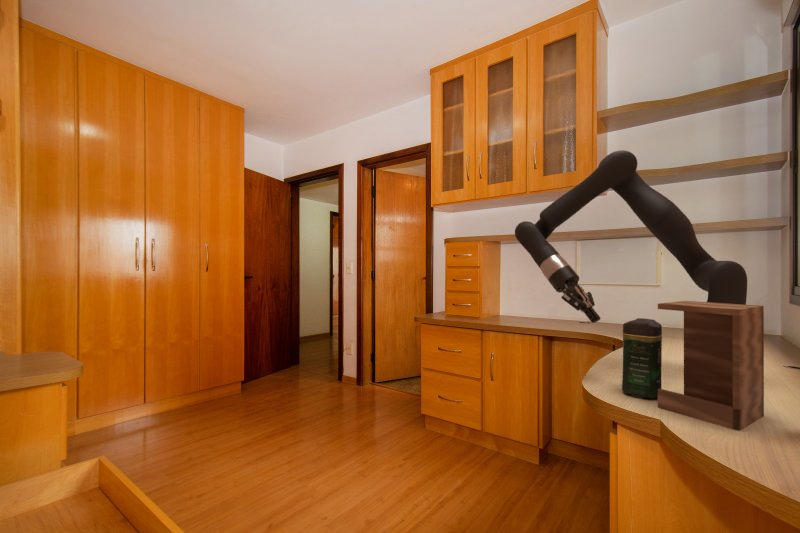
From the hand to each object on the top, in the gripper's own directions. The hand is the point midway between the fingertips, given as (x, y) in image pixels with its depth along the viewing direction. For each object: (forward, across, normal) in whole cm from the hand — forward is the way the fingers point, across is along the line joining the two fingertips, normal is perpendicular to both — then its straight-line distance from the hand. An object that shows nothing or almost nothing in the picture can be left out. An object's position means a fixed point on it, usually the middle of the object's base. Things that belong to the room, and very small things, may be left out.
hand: (596, 320), depth 101 cm
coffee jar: (+20, 0, +3) cm, 20 cm away
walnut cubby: (+29, 0, -7) cm, 30 cm away
